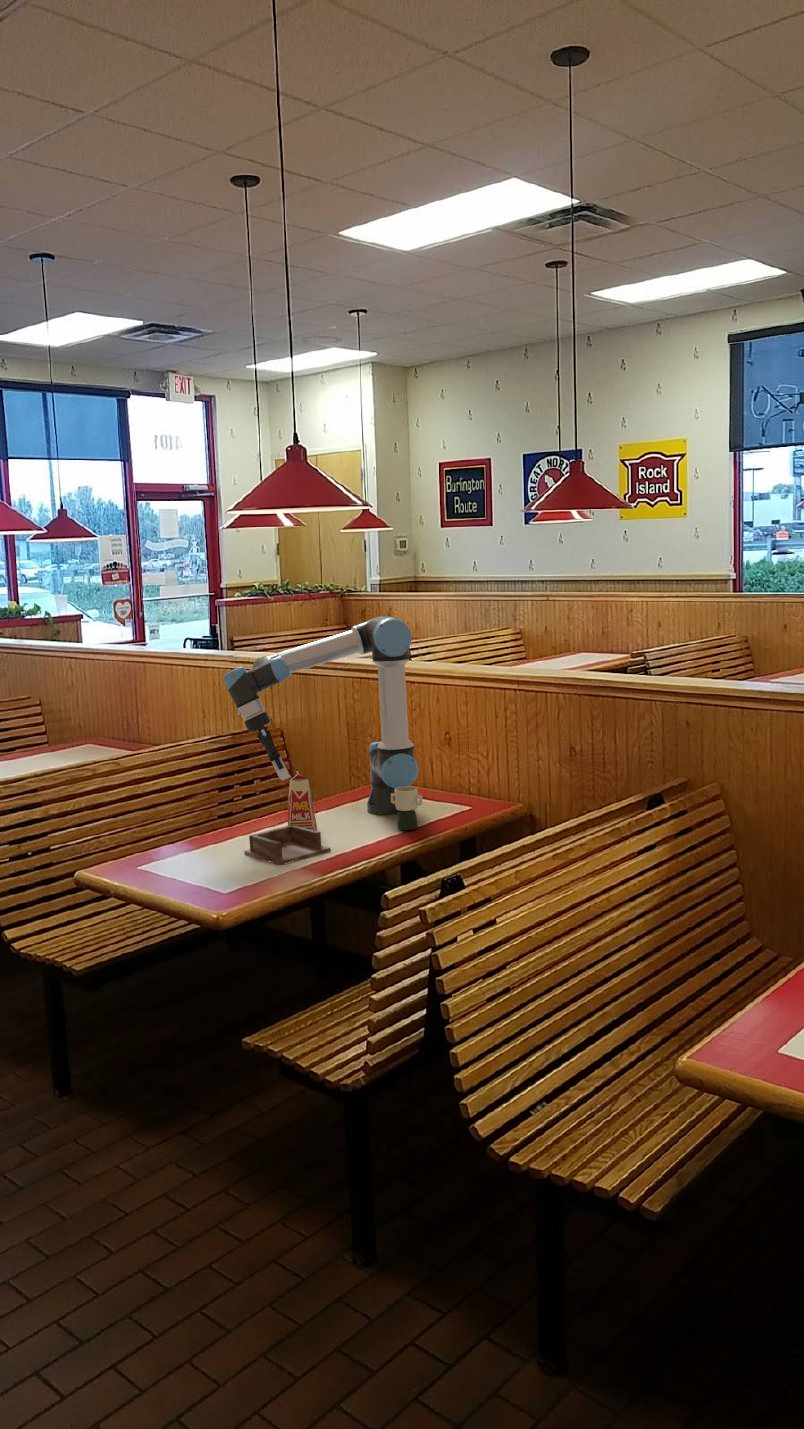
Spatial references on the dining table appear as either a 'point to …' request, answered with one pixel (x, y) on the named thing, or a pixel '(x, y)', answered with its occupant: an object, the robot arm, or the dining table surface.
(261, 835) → the carton bracket
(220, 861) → the dining table surface
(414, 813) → the character mug
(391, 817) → the dining table surface
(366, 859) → the dining table surface
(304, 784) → the milk carton
